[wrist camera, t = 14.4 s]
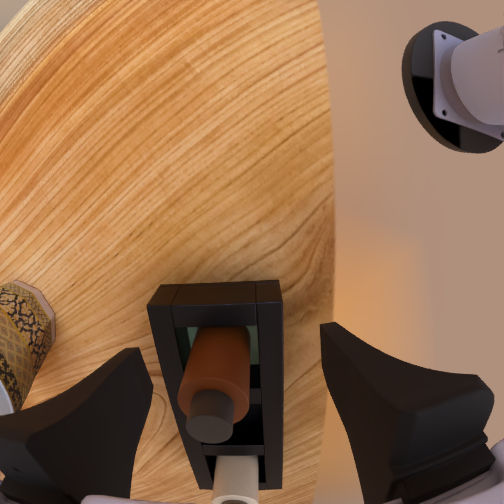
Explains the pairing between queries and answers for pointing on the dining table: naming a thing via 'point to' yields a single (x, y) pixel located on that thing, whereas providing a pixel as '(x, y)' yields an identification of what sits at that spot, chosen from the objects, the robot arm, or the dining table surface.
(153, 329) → the holder
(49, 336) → the ceramic cup
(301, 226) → the dining table surface
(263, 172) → the dining table surface
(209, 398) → the spice bottle
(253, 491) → the cream bottle
